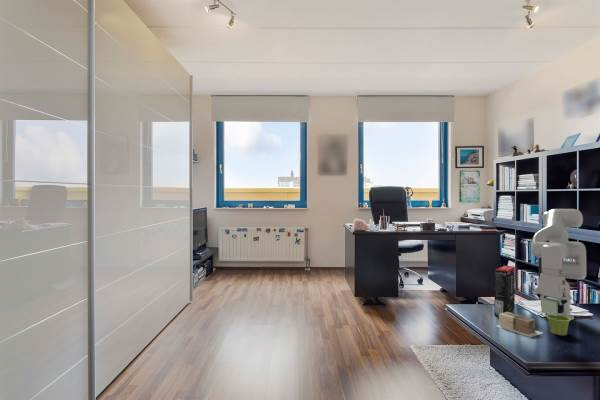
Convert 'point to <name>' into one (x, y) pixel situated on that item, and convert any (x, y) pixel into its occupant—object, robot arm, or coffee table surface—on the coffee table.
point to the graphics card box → (504, 290)
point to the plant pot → (558, 324)
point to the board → (523, 333)
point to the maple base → (508, 320)
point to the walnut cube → (525, 325)
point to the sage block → (550, 306)
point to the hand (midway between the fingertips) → (552, 310)
